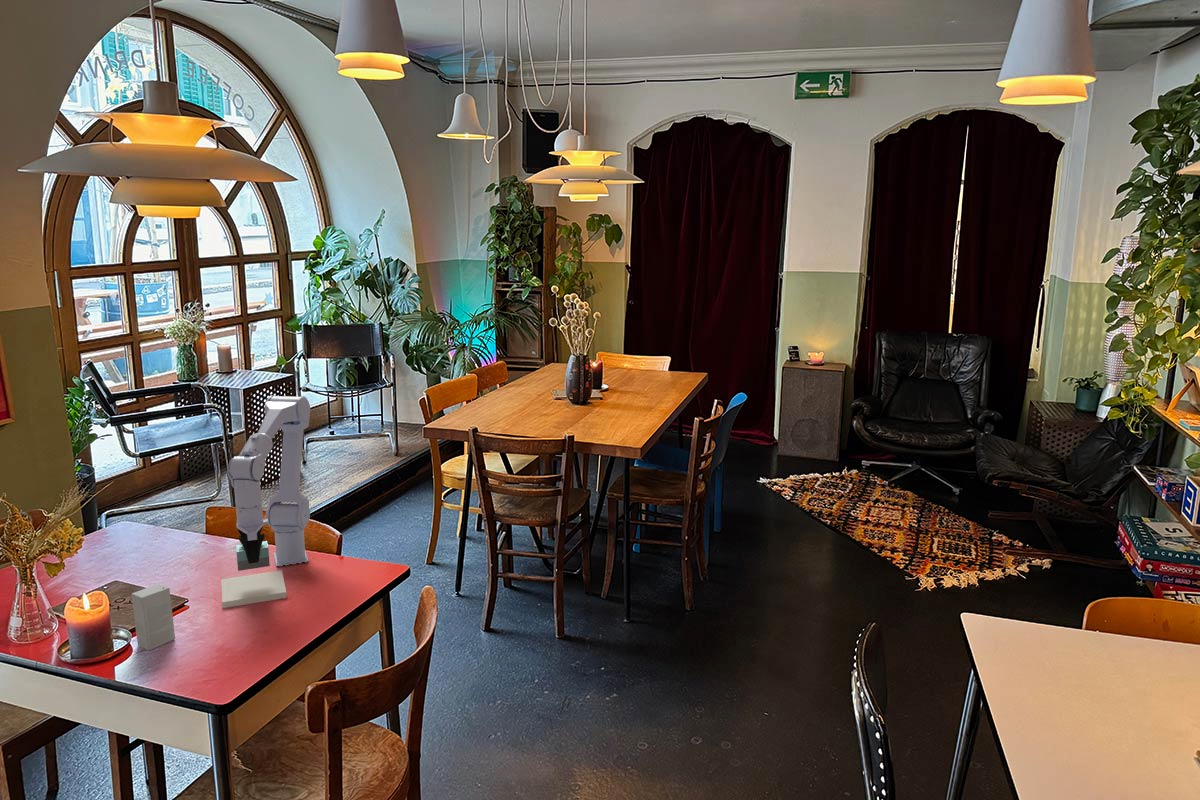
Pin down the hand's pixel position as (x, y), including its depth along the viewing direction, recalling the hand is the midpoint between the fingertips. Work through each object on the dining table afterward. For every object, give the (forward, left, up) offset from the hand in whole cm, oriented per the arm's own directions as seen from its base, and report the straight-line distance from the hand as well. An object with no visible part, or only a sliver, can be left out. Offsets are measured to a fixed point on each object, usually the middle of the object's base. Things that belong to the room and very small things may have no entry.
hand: (253, 558), depth 197 cm
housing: (0, 0, -2) cm, 2 cm away
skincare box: (+19, -20, -9) cm, 29 cm away
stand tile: (0, 0, -8) cm, 8 cm away
